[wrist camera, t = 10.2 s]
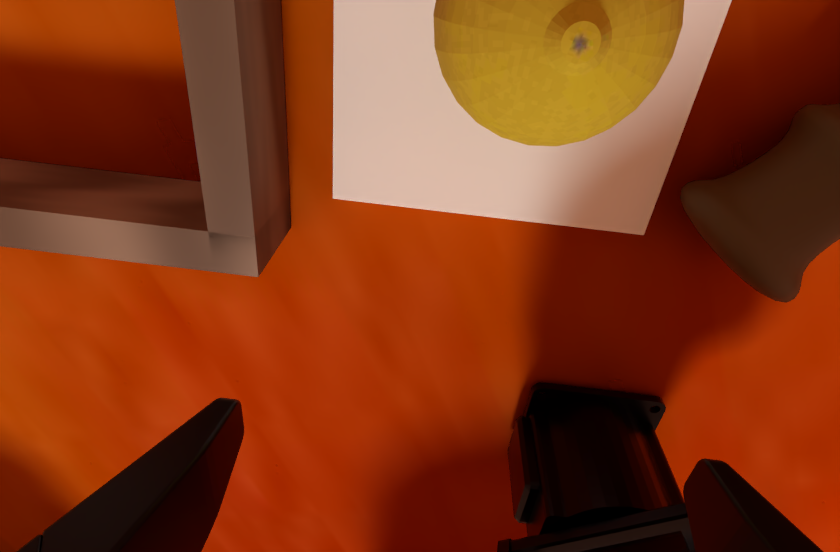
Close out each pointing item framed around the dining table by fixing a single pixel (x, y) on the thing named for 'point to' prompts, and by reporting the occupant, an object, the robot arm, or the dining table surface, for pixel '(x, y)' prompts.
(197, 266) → the walnut rack
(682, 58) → the tile
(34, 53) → the dining table surface
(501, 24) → the lemon
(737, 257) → the kendama
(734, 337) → the dining table surface
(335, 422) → the dining table surface
